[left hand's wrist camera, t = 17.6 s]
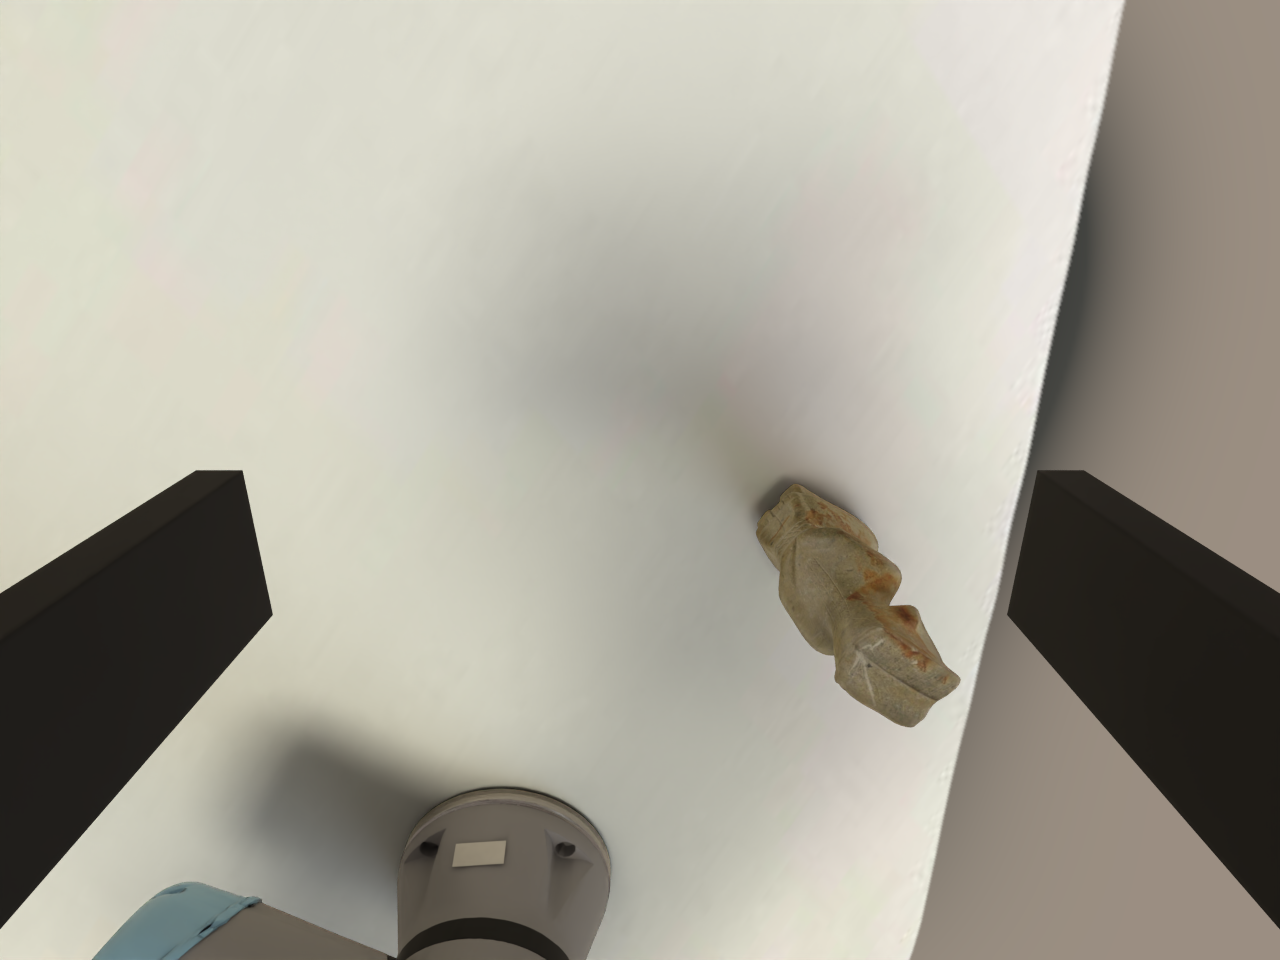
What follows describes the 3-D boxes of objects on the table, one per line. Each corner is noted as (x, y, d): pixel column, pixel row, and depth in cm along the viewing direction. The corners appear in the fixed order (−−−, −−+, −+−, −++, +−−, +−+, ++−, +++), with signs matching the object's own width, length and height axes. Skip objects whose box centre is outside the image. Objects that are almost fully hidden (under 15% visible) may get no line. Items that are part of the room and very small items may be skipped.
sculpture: (816, 591, 46) (893, 765, 32) (732, 523, 44) (774, 675, 30) (885, 526, 44) (998, 680, 31) (800, 454, 43) (878, 581, 29)
